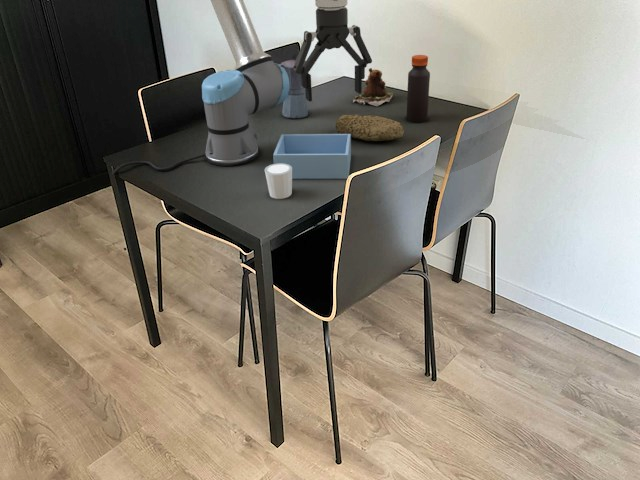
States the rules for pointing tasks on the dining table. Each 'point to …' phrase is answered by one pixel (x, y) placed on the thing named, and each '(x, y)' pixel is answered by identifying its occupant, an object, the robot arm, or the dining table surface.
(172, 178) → the dining table surface
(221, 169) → the dining table surface
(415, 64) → the bottle
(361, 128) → the sponge
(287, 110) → the moka pot
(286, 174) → the shot glass
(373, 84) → the bear figurine
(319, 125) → the dining table surface
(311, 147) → the open storage box
